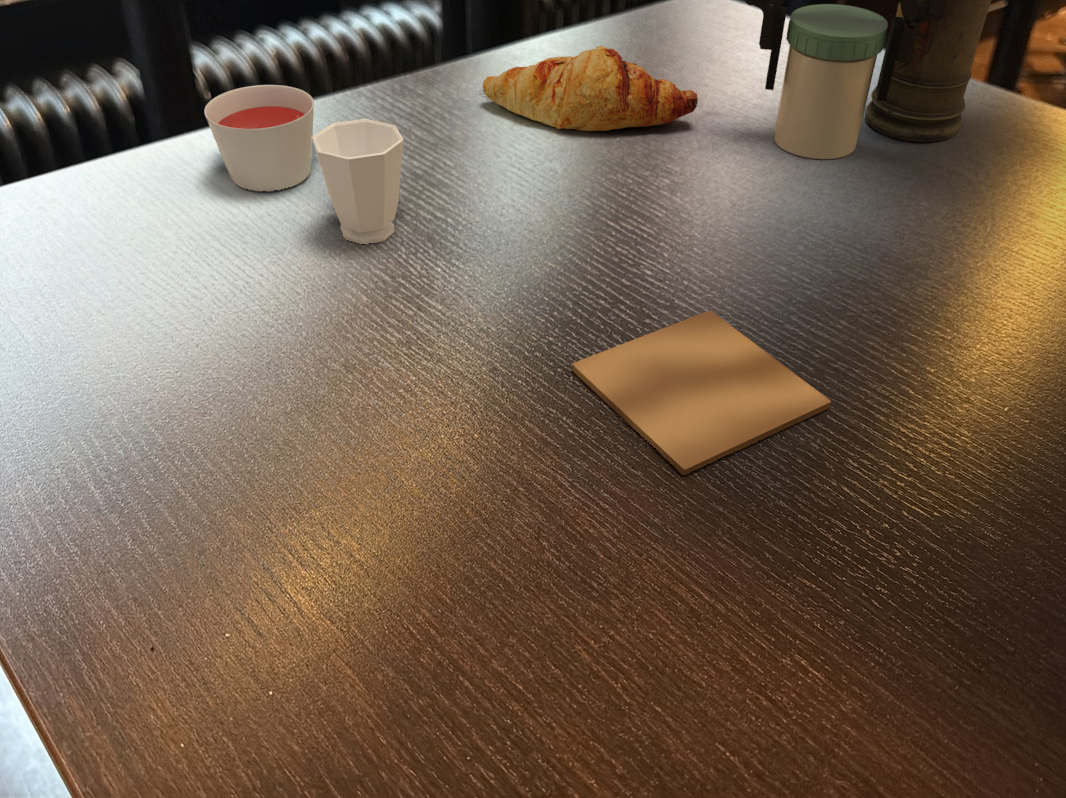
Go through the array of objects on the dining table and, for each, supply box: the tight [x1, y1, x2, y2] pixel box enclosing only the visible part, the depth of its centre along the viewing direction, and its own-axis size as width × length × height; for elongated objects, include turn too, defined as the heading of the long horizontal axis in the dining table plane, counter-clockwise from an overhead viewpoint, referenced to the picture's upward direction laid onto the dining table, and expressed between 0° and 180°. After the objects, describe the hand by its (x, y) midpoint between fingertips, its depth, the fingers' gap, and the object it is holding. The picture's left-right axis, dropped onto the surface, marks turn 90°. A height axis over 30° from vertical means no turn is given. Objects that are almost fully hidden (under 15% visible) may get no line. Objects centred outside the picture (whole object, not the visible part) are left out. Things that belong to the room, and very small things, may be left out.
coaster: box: [570, 309, 832, 476], centre depth 65 cm, size 12×12×1 cm
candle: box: [203, 84, 315, 192], centre depth 86 cm, size 9×9×6 cm
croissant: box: [482, 45, 699, 132], centre depth 96 cm, size 21×10×8 cm, turn 78°
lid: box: [785, 3, 889, 60], centre depth 87 cm, size 8×8×2 cm
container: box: [865, 0, 992, 143], centre depth 92 cm, size 9×9×18 cm
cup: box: [312, 118, 404, 245], centre depth 79 cm, size 7×10×8 cm
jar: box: [773, 44, 878, 160], centre depth 91 cm, size 8×8×11 cm
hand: (824, 89), depth 91 cm, fingers open, 9 cm apart
